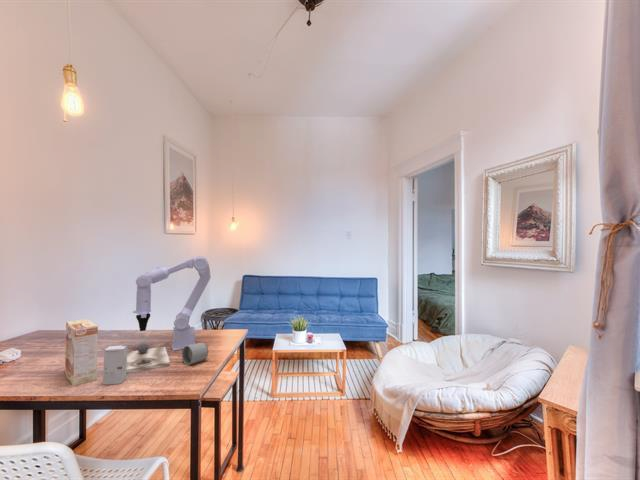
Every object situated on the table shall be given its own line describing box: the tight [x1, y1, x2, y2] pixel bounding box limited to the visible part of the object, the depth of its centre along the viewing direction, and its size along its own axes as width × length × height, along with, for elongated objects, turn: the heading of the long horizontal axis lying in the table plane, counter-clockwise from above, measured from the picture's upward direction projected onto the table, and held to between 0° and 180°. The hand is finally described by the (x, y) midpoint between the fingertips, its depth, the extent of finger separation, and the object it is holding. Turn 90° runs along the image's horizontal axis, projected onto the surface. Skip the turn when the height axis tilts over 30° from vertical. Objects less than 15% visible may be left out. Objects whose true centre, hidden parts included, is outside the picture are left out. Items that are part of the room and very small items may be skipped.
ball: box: [137, 343, 149, 353], centre depth 131 cm, size 4×4×4 cm
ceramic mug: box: [181, 342, 209, 366], centre depth 127 cm, size 11×8×8 cm
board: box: [126, 346, 171, 375], centre depth 126 cm, size 18×22×2 cm
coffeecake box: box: [64, 318, 99, 387], centre depth 110 cm, size 15×7×20 cm, turn 48°
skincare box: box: [102, 345, 129, 386], centre depth 107 cm, size 6×4×12 cm
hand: (142, 330), depth 138 cm, fingers closed
